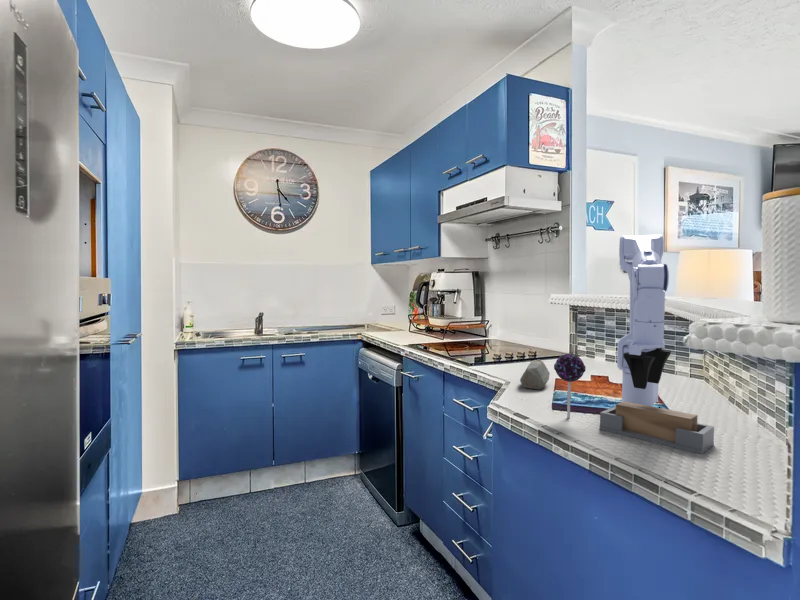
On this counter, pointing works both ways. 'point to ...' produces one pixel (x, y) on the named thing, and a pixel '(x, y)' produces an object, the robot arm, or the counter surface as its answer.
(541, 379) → the stone
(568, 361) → the lollipop
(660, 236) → the robot arm
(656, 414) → the slat
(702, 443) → the cradle
